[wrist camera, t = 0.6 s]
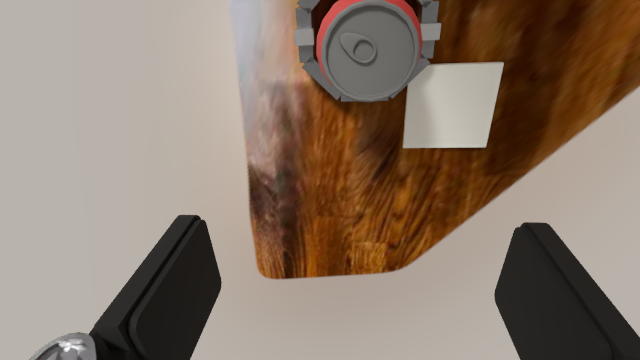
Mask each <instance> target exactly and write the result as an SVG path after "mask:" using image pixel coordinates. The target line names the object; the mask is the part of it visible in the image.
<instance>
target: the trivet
mask: <svg viewBox="0 0 640 360" xmlns="http://www.w3.org/2000/svg"><path fill="white" fill-rule="evenodd" d="M503 65H504V63H503V62H475V63H445V64H429V65H428V66H427V67H426V68H425V69H423V70H422V71H421V72H420V73H419V74H418V75H417V76H416V77H415V78H414V79H413V80H412V81H411V82H410V83H409V84H408V85H407V93H406V106H405V119H404V132H403V144H402V146H403V148H477V147H486V145H487V140H488V136H489V131H490V126H491V122H492V117H493V112H494V108H495V103H496V98H497V94H498V89H499V84H500V80H501V75H502V70H503Z"/></svg>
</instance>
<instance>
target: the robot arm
mask: <svg viewBox="0 0 640 360" xmlns="http://www.w3.org/2000/svg"><path fill="white" fill-rule="evenodd" d="M220 289H221V277H220V274H219V270H218V266H217V262H216V259H215V255H214V251H213V247H212V243H211V240H210V236H209V232H208V228H207V225H206V222H205V221H204V220H201V218H200V217H199V216H197V215H179V216H178V217H177V218H176V219H175V220H174V222H173V223H172V224H171V226H170V227H169V228H168V230H167V231H166V232H165V234H164V235H163V236H162V237H161V239H160V240H159V241H158V243H157V244H156V245H155V247H154V248H153V249H152V251H151V252H150V253H149V254H148V256H147V257H146V259H145V260H144V261H143V262H142V264H141V265H140V266H139V268H138V269H137V270H136V271H135V273H134V274H133V275H132V277H131V278H130V279H129V281H128V282H127V283H126V285H125V286H124V287H123V288H122V290H121V291H120V292H119V294H118V295H117V296H116V298H115V299H114V300H113V302H112V303H111V304H110V306H109V307H108V308H107V309H106V311H105V312H104V313H103V315H102V316H101V317H100V319H99V320H98V321H97V323H96V324H95V325H94V328H93V329H92V330H91V332H90V333H89V334H86V333H80V332H78V333H71V334H67V335H64V336H61V337H59V338H57V339H55V340H53V341H51V342H49V343H48V344H46V345H45V346H44V347H42V348H41V349H40V350H38V351H37V352H36V353H35V354H34V355H33V356H32V357H31V358H30V359H29V360H190V358H191V356H192V354H193V351H194V349H195V347H196V345H197V342H198V340H199V338H200V335H201V333H202V331H203V328H204V326H205V324H206V322H207V319H208V317H209V315H210V313H211V311H212V308H213V306H214V304H215V302H216V299H217V297H218V294H219V292H220ZM495 302H496V305H497V307H498V309H499V312H500V314H501V316H502V319H503V321H504V323H505V325H506V328H507V330H508V332H509V335H510V337H511V339H512V341H513V343H514V346H515V348H516V350H517V353H518V355H519V357H520V359H521V360H640V337H639V336H638V335H637V334H636V332H635V331H634V330H633V329H632V327H631V326H630V325H629V324H628V322H627V321H626V320H625V319H624V317H623V316H622V315H621V314H620V312H619V311H618V310H617V309H616V307H615V306H614V305H613V304H612V302H611V301H610V300H609V299H608V297H607V296H606V295H605V294H604V292H603V291H602V290H601V289H600V287H599V286H598V285H597V284H596V283H595V281H594V280H593V279H592V278H591V276H590V275H589V274H588V272H587V271H586V270H585V269H584V267H583V266H582V265H581V264H580V262H579V261H578V260H577V259H576V258H575V256H574V255H573V254H572V252H571V251H570V250H569V249H568V248H567V246H566V245H565V244H564V242H563V241H562V240H561V239H560V237H559V236H558V235H557V234H556V232H555V231H554V230H553V229H552V227H551V226H550V225H549V224H547V223H523V224H522V225H521V227H517V228H516V229H515V230H514V233H513V236H512V239H511V242H510V245H509V249H508V252H507V255H506V258H505V262H504V264H503V268H502V270H501V274H500V277H499V280H498V283H497V286H496V289H495Z"/></svg>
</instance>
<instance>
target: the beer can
mask: <svg viewBox="0 0 640 360" xmlns="http://www.w3.org/2000/svg"><path fill="white" fill-rule="evenodd" d="M422 43H423V41H422V33H421V25H420V23H419V21H418V18H417V16H416V14H415V12H414V10H413V8H412V7H411V6H410V5H409V4H408V3H407V2H406V1H404V0H339V1H337V2H336V3H335V4H334V5H333V6H332V7H331V9H330V10H329V12H328V13H327V14H326V16H325V17H324V19H323V20H322V23H321V26H320V29H319V32H318V35H317V51H316V55H317V58H318V62H319V66H320V69H321V71H322V73H323V75H324V76H325V78H326V79H327V81H328V82H329V84H330V85H331V86H332V87H334V88H335V89H336V90H337V91H338V92H340V93H341V94H342V95H343V96H345V97H347V98H350V99H353V100H355V101H358V102H375V101H379V100H383V99H387V98H388V97H390V96H392V95H393V94H395V93H397V92H398V91H400V90H401V89H402V88H403V86H404V85H405V84H406V83H407V82H408V81H409V80H410V78H411V77H412V75H413V73H414V71H415V69H416V67H417V65H418V63H419V60H420V55H421V49H422Z"/></svg>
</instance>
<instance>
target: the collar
mask: <svg viewBox="0 0 640 360" xmlns="http://www.w3.org/2000/svg"><path fill="white" fill-rule="evenodd" d="M320 1H321V0H299V1H298V3H297V4H298V5H299V6H300V7H299V8H296V19H297V29H294V42H295V46H299V58H300V63H304V65H303V66H302V68H303V69H304V70H305V71H306V72H308V73H309V74H310V75H311V76H312V77H313V78H314V79H315V80H316V81H317V82H318V83H319V84H320V85H321V86H322V87H324V88H325V89H326V90H327V91H328V92H329V93H330V94H331V95H332V96H333V97H334V98H335V99H336V100H337V99H338V98H339V97H340V96H341V102H346V101H355V100H353V99H350V98H347V97H345V96H343V95H342V94H341V93H340V92H338V91H337V90H336V89H335V88H334V87H332V86H331V85H330V84H329V82H328V81H327V79H326V78H325V76H324V75H323V73H322V71H321V69H320V66H319V62H318V58H317V55H316V45H315V26H314V9H315V8H316V6H317V5H318V4H319V3H320ZM415 1H416V2H417V4H418V14H417V18H418V21H419V23H420V25H421V33H422V41H423V43H422V49H421V55H420V60H419V63H418V65H417V67H416V69H415V71H414V73H413V75H412V77H411V78H410V80H409V81H408V82H407V83H406V84H405V85H404V86H403V88H404V87H405V86H406V85H408V84H409V83H410V82H411V81H412V80H413V79H414V78H415V77H416V76H417V75H418V74H419V73H420V72H421V71H422V70H423V69H425V68H426V67H427V66H428V65H429V64H430V62H429V61H428V60H427V59H426V58H433V52H434V43H435V40H439V39H440V31H441V23H440V22H437V16H438V8H439V1H436V0H415ZM403 88H402V89H403ZM402 89H401V90H402ZM401 90H400V91H401ZM400 91H398V92H397V93H395V94H393V95H392V96H390V97H391V98H392V99H393V98H394V97H395V96H396V95H397V94H398V93H399V92H400ZM379 101H388V98H387V99H383V100H379Z"/></svg>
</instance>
